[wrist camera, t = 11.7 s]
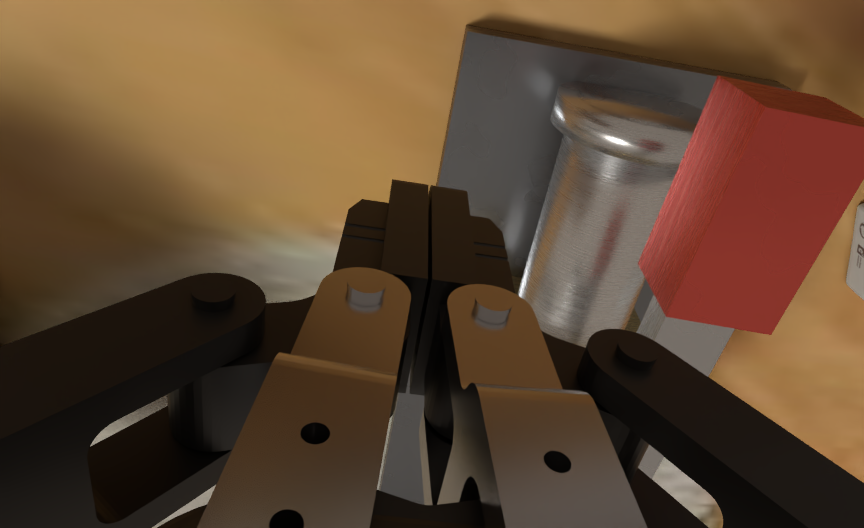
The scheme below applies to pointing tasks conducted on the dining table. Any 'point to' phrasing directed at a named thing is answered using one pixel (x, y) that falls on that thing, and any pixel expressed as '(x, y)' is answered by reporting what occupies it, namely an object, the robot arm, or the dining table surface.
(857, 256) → the skincare box
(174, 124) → the dining table surface
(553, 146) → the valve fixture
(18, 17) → the dining table surface
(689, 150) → the valve lever
